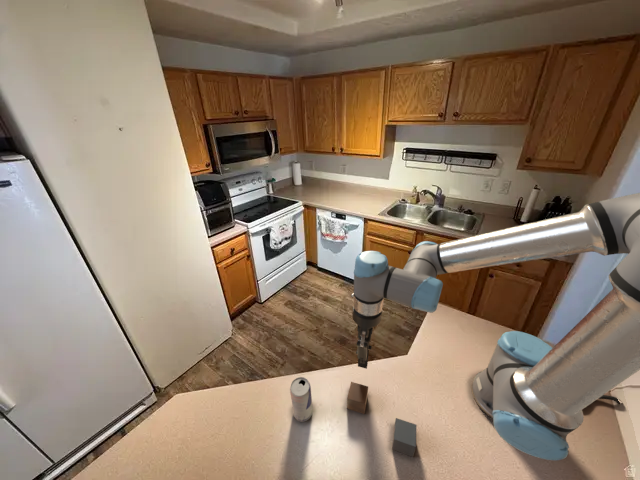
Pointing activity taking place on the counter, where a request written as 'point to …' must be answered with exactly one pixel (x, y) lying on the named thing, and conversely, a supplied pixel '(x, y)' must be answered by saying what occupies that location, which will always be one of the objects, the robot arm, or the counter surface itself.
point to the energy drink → (301, 399)
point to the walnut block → (357, 397)
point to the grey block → (404, 437)
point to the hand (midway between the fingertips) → (362, 365)
